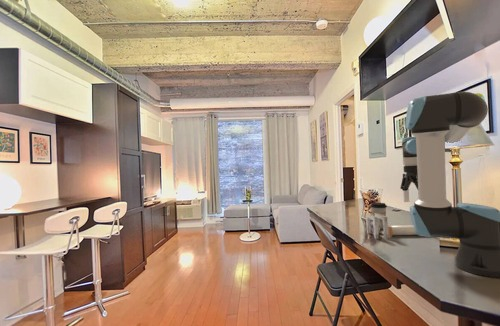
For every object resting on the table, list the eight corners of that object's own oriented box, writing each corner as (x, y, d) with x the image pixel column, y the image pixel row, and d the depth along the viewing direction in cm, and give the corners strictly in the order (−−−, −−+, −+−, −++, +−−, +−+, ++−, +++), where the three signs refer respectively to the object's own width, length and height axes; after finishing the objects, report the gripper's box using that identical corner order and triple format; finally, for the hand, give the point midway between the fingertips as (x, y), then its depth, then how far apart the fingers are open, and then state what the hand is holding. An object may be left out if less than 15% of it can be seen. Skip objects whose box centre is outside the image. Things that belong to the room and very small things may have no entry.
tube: (423, 233, 132) (422, 223, 133) (429, 236, 127) (428, 226, 127) (385, 234, 134) (384, 224, 135) (389, 236, 129) (389, 226, 129)
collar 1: (378, 238, 126) (377, 217, 127) (375, 238, 127) (374, 217, 127) (369, 232, 138) (368, 212, 139) (366, 232, 139) (365, 213, 139)
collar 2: (388, 238, 126) (387, 216, 126) (385, 238, 126) (384, 217, 126) (378, 232, 138) (377, 212, 138) (375, 232, 138) (374, 212, 138)
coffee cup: (384, 225, 153) (382, 202, 153) (391, 229, 143) (389, 204, 144) (368, 225, 153) (367, 202, 154) (374, 229, 144) (373, 204, 144)
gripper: (434, 164, 119) (437, 207, 118) (405, 165, 144) (407, 200, 143) (418, 165, 119) (421, 207, 119) (392, 165, 144) (394, 200, 144)
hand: (414, 203), depth 131 cm, fingers open, 13 cm apart
